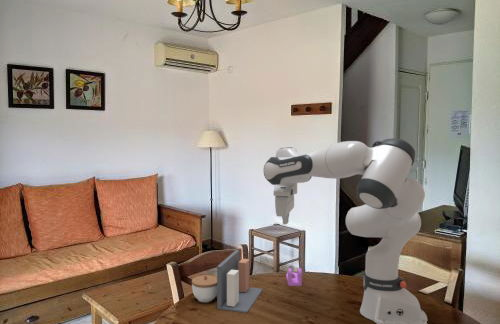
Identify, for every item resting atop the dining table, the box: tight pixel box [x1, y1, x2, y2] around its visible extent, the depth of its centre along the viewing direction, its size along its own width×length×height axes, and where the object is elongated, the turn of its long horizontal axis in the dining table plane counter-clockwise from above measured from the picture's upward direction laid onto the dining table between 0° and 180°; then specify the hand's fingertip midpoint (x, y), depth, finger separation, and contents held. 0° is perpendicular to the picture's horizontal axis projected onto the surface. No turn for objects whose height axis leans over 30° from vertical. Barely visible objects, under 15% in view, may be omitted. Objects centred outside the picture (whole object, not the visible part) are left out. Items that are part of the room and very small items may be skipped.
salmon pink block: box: [239, 258, 250, 292], centre depth 163 cm, size 3×5×12 cm, turn 164°
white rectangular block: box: [227, 270, 239, 307], centre depth 149 cm, size 3×5×12 cm, turn 164°
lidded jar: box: [191, 274, 217, 303], centre depth 156 cm, size 11×11×9 cm
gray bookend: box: [216, 249, 263, 314], centre depth 156 cm, size 12×22×16 cm, turn 164°
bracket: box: [285, 267, 303, 287], centre depth 177 cm, size 13×6×7 cm, turn 0°
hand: (285, 223), depth 157 cm, fingers closed
